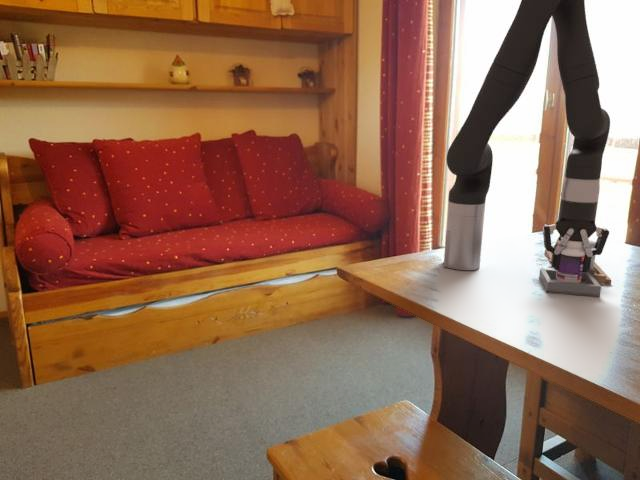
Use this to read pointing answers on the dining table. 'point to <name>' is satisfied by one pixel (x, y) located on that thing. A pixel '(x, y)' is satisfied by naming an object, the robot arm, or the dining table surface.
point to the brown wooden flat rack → (590, 271)
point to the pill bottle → (571, 262)
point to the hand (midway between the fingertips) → (569, 269)
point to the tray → (569, 284)
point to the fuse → (592, 256)
